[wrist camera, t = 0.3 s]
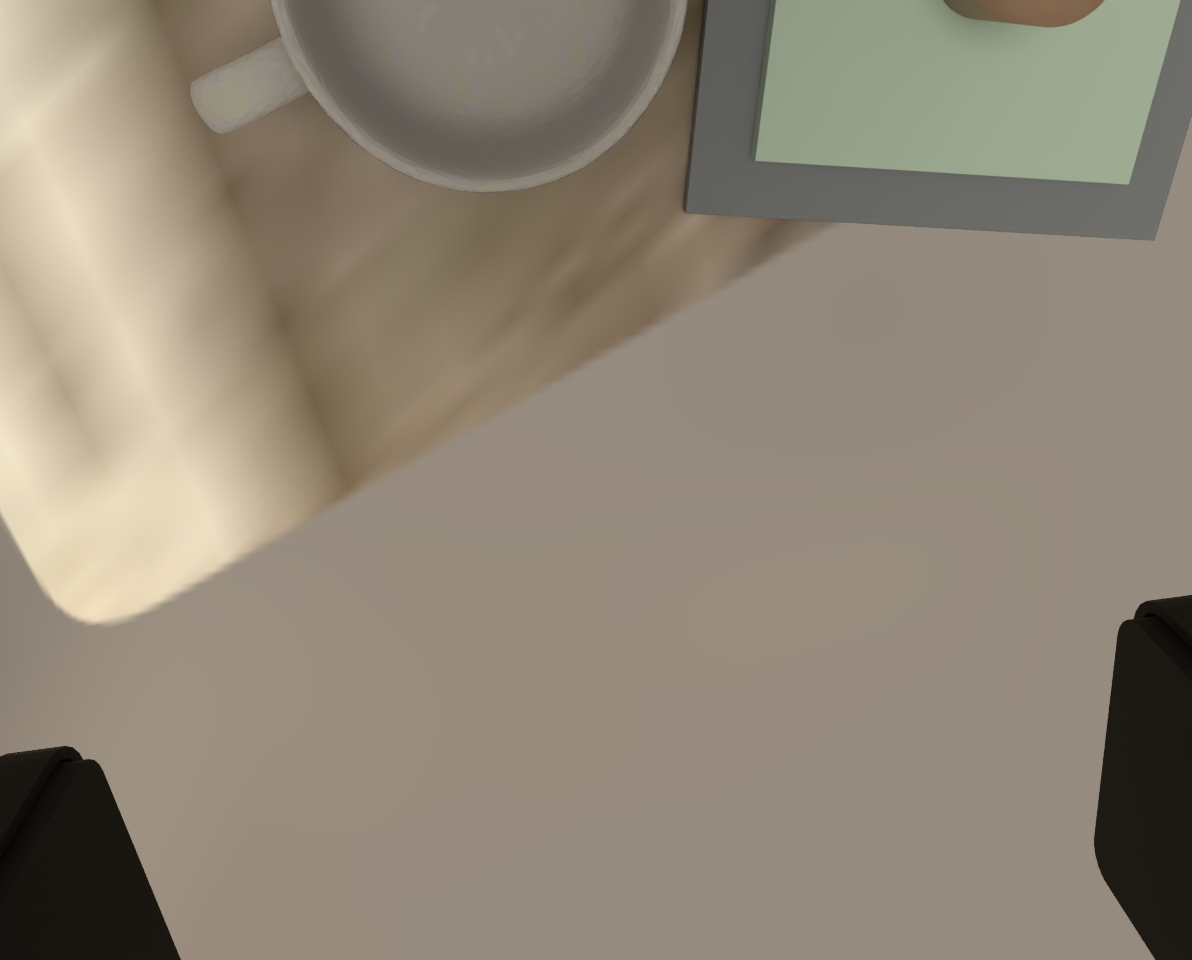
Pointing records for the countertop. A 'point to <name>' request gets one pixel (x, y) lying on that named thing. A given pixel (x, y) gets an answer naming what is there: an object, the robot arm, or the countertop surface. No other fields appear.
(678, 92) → the countertop surface
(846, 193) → the mat
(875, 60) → the lid
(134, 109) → the countertop surface
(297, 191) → the countertop surface
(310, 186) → the countertop surface
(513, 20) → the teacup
